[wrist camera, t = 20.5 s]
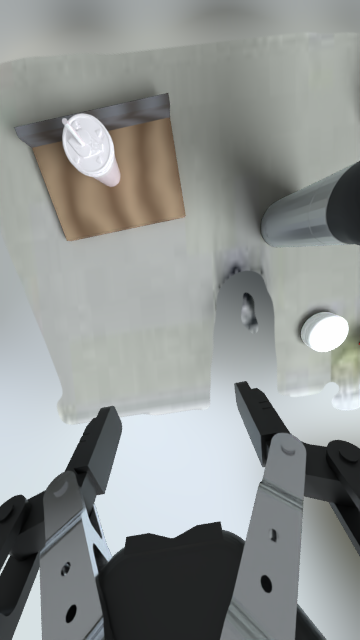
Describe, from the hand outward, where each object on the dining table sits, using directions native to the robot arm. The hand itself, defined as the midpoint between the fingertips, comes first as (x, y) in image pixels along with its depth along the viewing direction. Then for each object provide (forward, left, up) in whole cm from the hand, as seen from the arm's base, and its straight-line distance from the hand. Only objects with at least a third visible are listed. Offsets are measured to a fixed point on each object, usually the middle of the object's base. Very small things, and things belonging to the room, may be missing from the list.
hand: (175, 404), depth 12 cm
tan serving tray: (+6, -23, -33) cm, 41 cm away
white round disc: (-36, +17, -33) cm, 52 cm away
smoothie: (+6, -24, -32) cm, 40 cm away
